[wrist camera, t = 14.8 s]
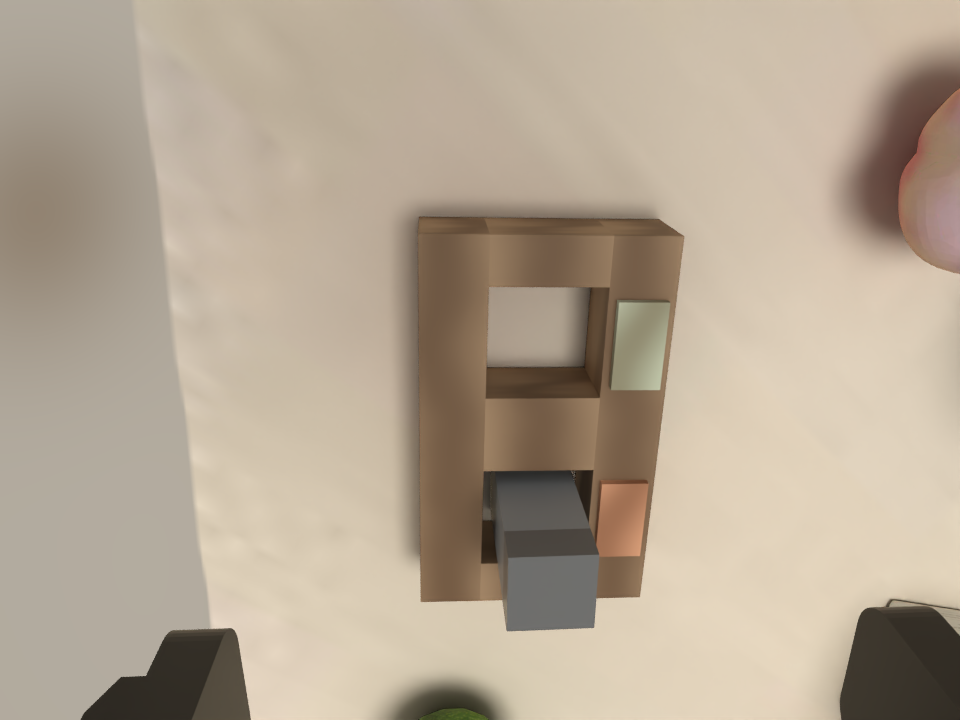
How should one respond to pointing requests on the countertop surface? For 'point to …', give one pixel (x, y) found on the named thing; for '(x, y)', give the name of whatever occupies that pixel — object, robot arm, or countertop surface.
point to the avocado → (454, 715)
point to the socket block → (541, 388)
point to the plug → (543, 551)
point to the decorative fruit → (934, 190)
